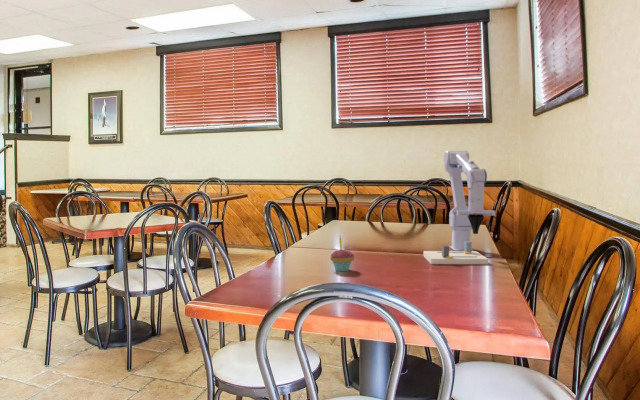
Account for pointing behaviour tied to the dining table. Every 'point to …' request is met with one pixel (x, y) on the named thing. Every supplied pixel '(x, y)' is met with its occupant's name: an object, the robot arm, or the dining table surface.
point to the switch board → (455, 257)
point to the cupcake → (342, 259)
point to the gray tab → (445, 250)
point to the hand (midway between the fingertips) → (475, 233)
